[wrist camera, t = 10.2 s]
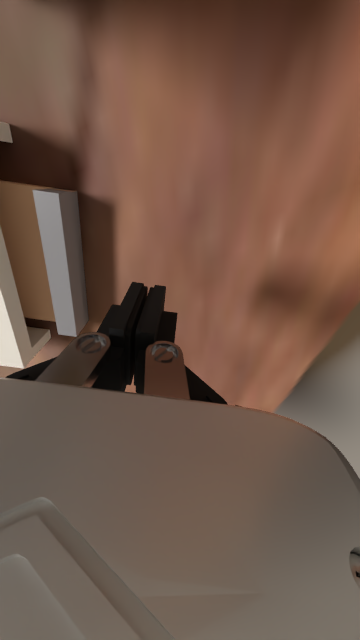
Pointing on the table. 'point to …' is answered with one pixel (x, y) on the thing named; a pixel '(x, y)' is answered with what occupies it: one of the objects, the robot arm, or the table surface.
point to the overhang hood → (14, 308)
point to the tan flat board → (45, 253)
